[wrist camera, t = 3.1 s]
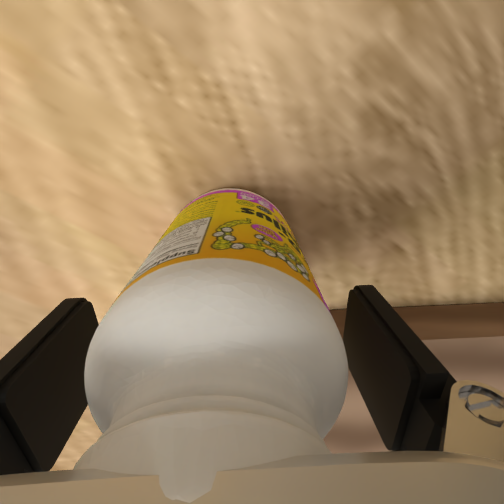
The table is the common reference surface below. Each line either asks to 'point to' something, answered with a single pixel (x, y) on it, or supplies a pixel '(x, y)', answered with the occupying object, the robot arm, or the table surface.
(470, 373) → the block
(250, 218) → the supplement bottle
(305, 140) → the table surface
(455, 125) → the table surface
